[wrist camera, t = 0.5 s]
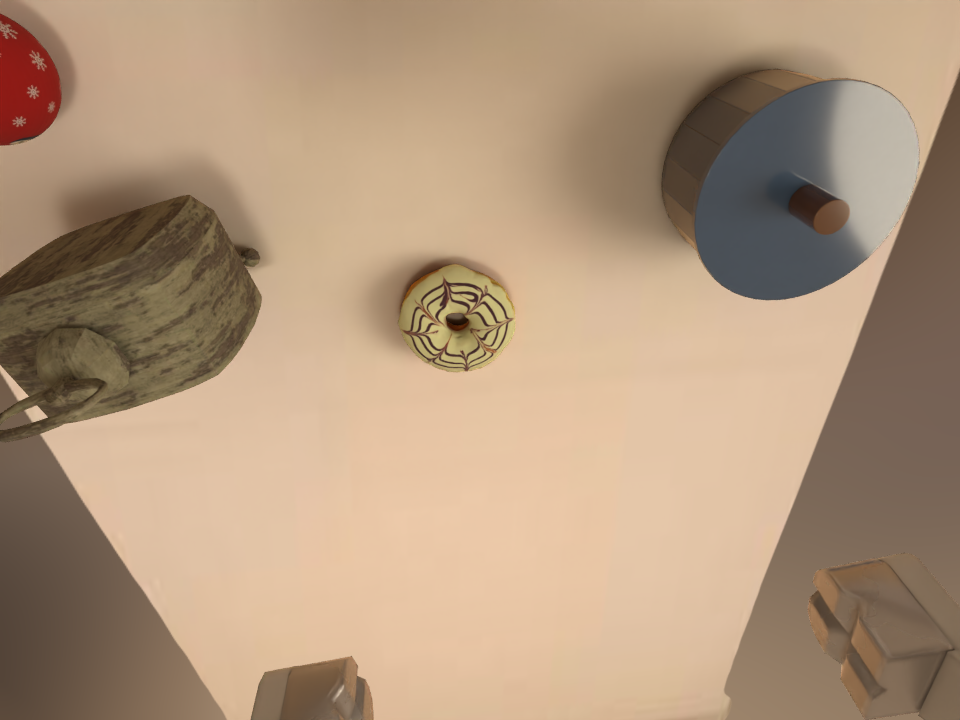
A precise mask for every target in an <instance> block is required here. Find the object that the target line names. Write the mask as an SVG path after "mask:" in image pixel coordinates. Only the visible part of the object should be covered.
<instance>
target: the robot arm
mask: <svg viewBox="0 0 960 720" xmlns="http://www.w3.org/2000/svg"><path fill="white" fill-rule="evenodd" d="M813 583H814V585H815V586H816V588H817V591H816V592H815V593H814V594H813V595H812V596H811V597H810V598H809V604H808V614H809V619H810V623H811V626H812V629H813V631H814V633H815V636H816V638H817V640H818V642H819V644H820V645H821V647H822V649H823V650H824V652H825V653H826V654H827V655H829V656H830V657H832V658H833V659H835V660H836V661H838V662H839V663H841V664H842V670H841V681H842V683H843V684H844V686H845V687H846V689H847V691H848V692H849V694H850V696H851V697H852V699H853V701H854V702H855V704H856V706H857V707H858V709H859V711H860V712H861V714H862V716H863V717H864V719H865V720H869V719H876V718H882V717H889V716H896V715H903V714H909V713H915V712H919V715H918V716H920V717H921V718H923V719H924V720H960V606H959V605H958V604H957V603H956V602H955V600H954V599H953V598H952V597H951V596H950V595H949V593H948V592H947V591H946V590H945V589H944V588H943V587H942V585H941V584H940V583H939V582H938V581H937V580H936V579H935V577H934V576H933V575H932V574H931V573H930V571H929V570H928V569H927V568H926V567H925V566H924V565H923V564H922V562H921V561H920V560H919V559H918V558H917V557H915V556H913V555H912V554H908V553H901V554H896V555H891V556H886V557H880V558H873V559H868V560H863V561H858V562H854V563H848V564H844V565H839V566H834V567H829V568H824V569H820V570H818V571H817V572H816V573H815V575H814V580H813ZM357 670H358V665H357V664H356V662H355V661H354V659H353V657H352V656H350V657H345V658H339V659H334V660H329V661H323V662H318V663H312V664H307V665H302V666H293V667H288V668H283V669H278V670H273V671H268V672H265V673H264V675H263V677H262V679H261V681H260V683H259V685H258V690H257V694H256V699H255V703H254V707H253V712H252V716H251V720H374V715H373V703H372V696H371V692H370V689H369V686H368V684H367V682H366V680H365V679H363V678H361V677H358V676H357Z"/></svg>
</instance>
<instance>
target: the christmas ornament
mask: <svg viewBox="0 0 960 720" xmlns="http://www.w3.org/2000/svg"><path fill="white" fill-rule="evenodd" d="M61 95H62V94H61V83H60V79H59V75H58V72H57V69H56V67H55V65H54V63H53V61H52V59H51V57H50V56H49V54H48V53H47V51H46V50H45V49H44V47H43V46H42V45H41V44H40V43H39V41H38V40H37V39H36V38H35V37H34V36H33V35H32V34H30V33H29V32H28V31H27V30H26V29H25V28H23V27H22V26H21V25H19V24H18V23H16V22H15V21H13V20H11V19H10V18H8V17H6V16H4V15H2V14H0V146H2V145H14V144H19V143H23V142H26V141H29V140H31V139H33V138H35V137H37V136H39V135H40V134H42V133H43V132H44V131H45V130H46V129H47V128H49V126H50V125H51V124H52V123H53V121H54V119H55V118H56V116H57V114H58V111H59V108H60V104H61Z"/></svg>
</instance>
